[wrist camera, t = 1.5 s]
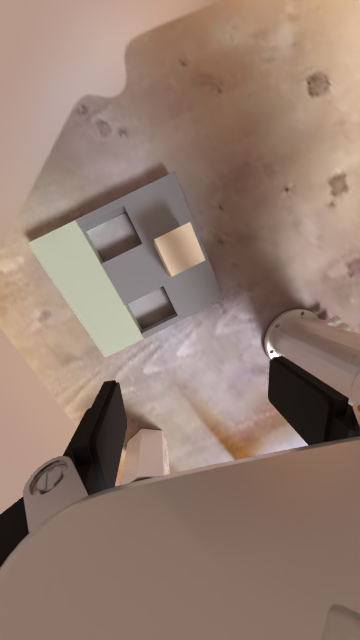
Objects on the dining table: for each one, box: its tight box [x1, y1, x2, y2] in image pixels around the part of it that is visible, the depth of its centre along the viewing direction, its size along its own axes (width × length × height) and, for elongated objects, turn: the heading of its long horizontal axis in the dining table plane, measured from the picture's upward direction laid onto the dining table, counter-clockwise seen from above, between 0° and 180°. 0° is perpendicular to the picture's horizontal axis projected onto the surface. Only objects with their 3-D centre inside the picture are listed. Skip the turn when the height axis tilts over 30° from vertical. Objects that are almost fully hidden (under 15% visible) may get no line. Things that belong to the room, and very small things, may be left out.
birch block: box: [154, 222, 205, 277], centre depth 25 cm, size 5×5×5 cm
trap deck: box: [27, 171, 224, 358], centre depth 28 cm, size 23×20×2 cm
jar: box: [120, 429, 169, 485], centre depth 33 cm, size 9×8×12 cm
